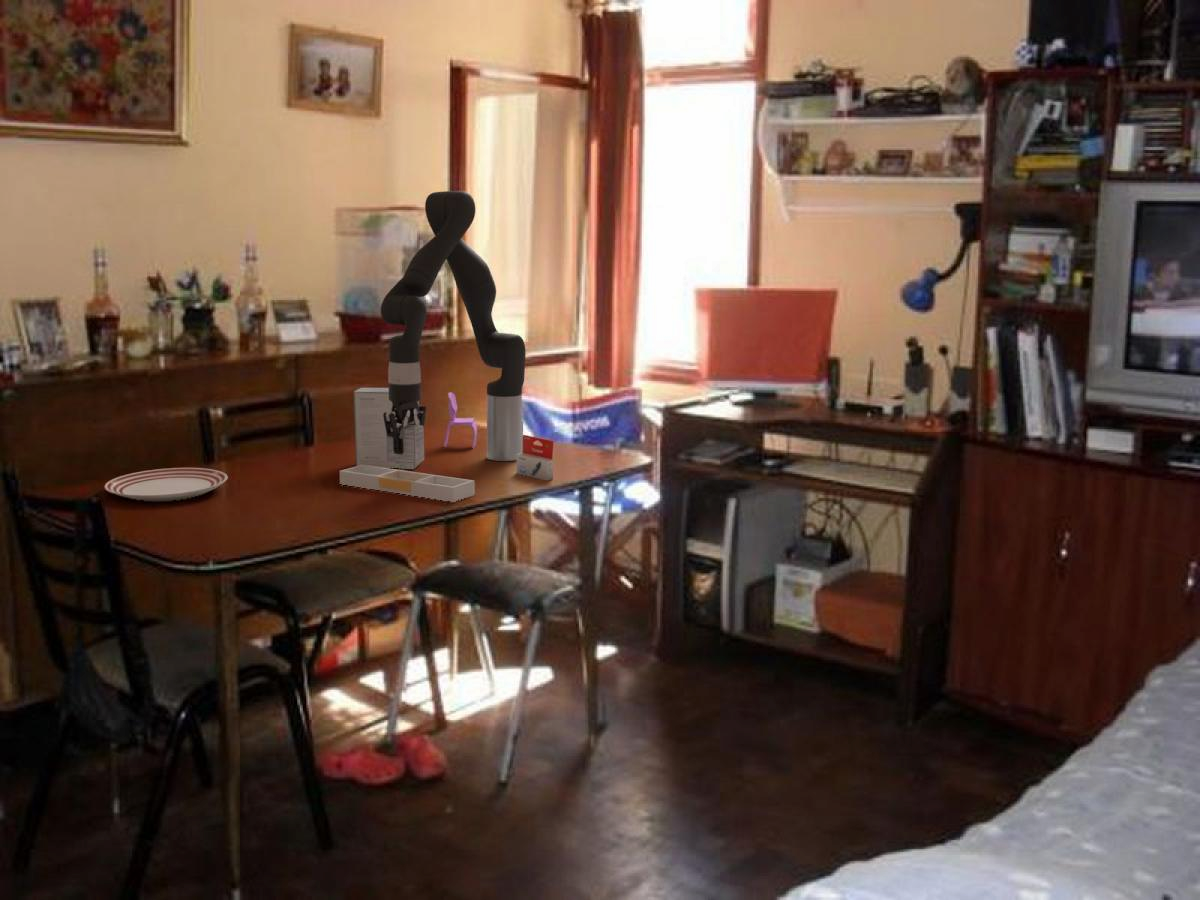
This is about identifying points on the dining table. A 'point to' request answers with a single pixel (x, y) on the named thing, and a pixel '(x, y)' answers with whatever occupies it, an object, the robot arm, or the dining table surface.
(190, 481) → the dinner plate
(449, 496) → the compartment tray
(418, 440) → the medicine box
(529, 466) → the ink cartridge box
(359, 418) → the hard drive box
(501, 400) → the robot arm
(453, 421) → the toy chair
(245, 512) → the dining table surface
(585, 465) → the dining table surface
